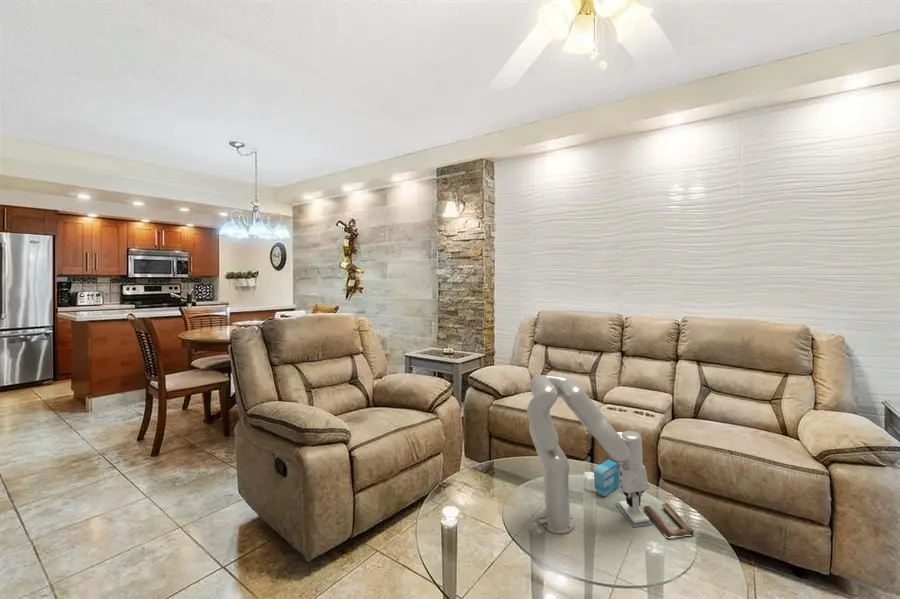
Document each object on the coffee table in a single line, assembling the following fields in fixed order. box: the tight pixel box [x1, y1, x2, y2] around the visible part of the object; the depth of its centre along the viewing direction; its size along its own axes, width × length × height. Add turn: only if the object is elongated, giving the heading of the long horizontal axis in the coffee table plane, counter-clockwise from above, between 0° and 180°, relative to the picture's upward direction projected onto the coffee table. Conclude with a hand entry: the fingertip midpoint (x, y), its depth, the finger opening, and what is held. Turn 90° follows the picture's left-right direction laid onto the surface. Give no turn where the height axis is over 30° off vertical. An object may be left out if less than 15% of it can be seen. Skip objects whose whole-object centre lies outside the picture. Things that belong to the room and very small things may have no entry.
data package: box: [593, 459, 620, 498], centre depth 181 cm, size 12×4×12 cm, turn 124°
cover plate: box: [618, 492, 650, 523], centre depth 165 cm, size 6×12×8 cm, turn 3°
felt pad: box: [615, 502, 654, 529], centre depth 165 cm, size 8×14×1 cm, turn 4°
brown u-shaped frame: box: [643, 502, 694, 537], centre depth 159 cm, size 10×16×2 cm, turn 4°
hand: (633, 504), depth 165 cm, fingers closed on cover plate, 2 cm apart
